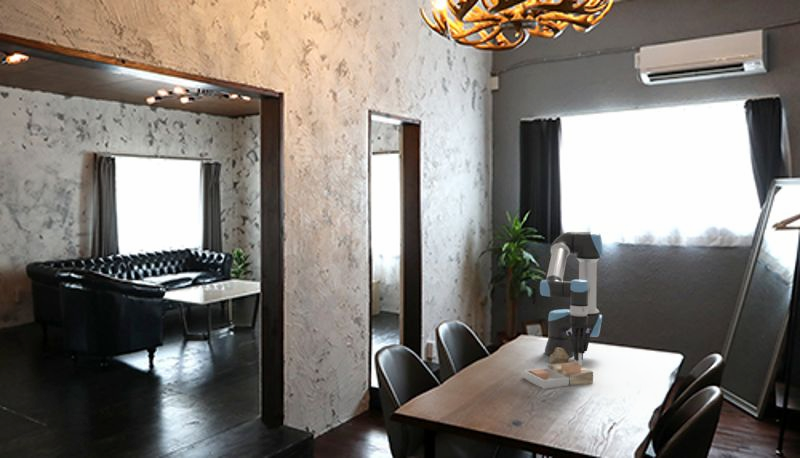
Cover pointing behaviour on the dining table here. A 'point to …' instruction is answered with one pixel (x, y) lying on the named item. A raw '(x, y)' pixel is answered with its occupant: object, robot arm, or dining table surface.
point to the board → (575, 375)
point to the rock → (558, 356)
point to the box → (553, 381)
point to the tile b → (571, 367)
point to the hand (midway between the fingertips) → (578, 367)
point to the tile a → (540, 374)
